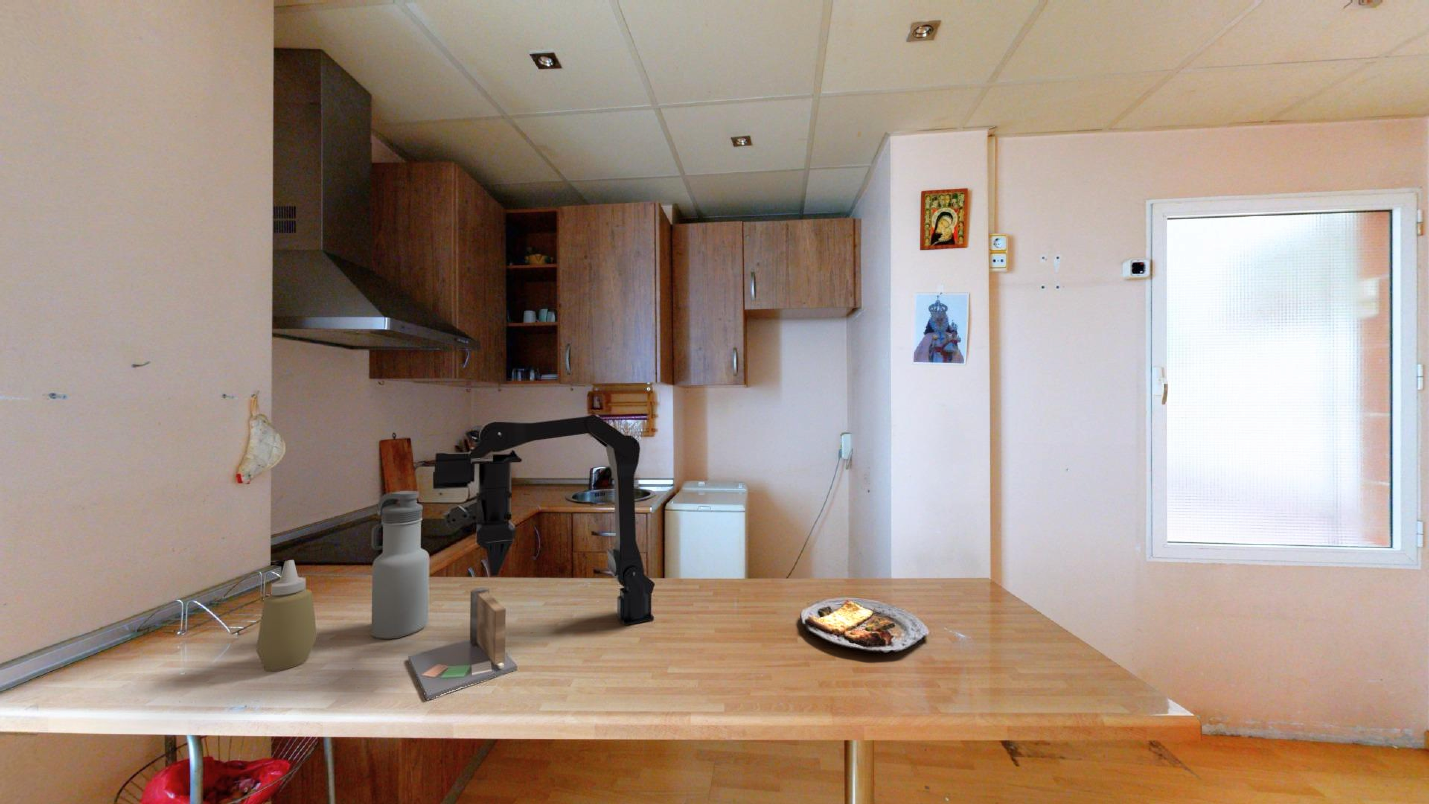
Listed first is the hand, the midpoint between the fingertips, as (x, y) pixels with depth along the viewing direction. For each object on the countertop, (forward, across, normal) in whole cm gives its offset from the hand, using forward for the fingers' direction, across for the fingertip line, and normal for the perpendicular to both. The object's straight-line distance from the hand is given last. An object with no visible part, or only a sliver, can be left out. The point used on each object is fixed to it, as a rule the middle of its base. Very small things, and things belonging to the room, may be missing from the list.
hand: (493, 568), depth 92 cm
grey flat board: (+15, +5, -5) cm, 16 cm away
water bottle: (+15, -16, -17) cm, 28 cm away
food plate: (+15, +26, +68) cm, 75 cm away
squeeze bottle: (+15, -9, -33) cm, 37 cm away
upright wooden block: (+14, +5, -1) cm, 14 cm away
